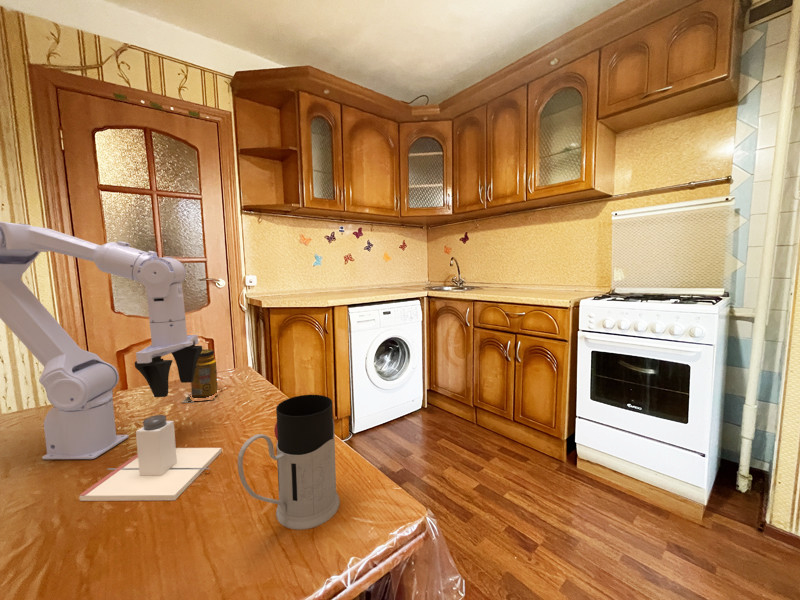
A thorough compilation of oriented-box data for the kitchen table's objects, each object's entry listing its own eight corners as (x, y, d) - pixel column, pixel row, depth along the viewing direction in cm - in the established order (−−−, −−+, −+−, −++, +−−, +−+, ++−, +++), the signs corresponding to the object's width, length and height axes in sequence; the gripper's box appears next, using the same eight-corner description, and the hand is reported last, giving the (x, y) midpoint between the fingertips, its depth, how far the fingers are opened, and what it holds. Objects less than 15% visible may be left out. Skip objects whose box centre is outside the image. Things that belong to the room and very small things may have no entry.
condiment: (222, 389, 95) (220, 347, 94) (213, 401, 87) (210, 355, 85) (194, 391, 93) (191, 349, 92) (181, 403, 85) (178, 357, 84)
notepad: (69, 500, 50) (69, 495, 49) (138, 452, 62) (137, 447, 62) (184, 500, 49) (184, 494, 49) (229, 451, 62) (229, 447, 62)
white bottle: (139, 475, 54) (135, 424, 53) (155, 462, 58) (151, 414, 57) (161, 475, 54) (157, 423, 53) (176, 462, 58) (173, 414, 57)
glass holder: (352, 499, 49) (349, 400, 48) (266, 572, 38) (259, 444, 36) (311, 479, 54) (308, 388, 53) (224, 538, 43) (216, 424, 41)
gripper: (161, 326, 57) (169, 403, 59) (210, 314, 72) (215, 376, 73) (120, 327, 57) (129, 404, 59) (177, 315, 72) (183, 377, 73)
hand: (174, 388), depth 66 cm, fingers open, 7 cm apart
